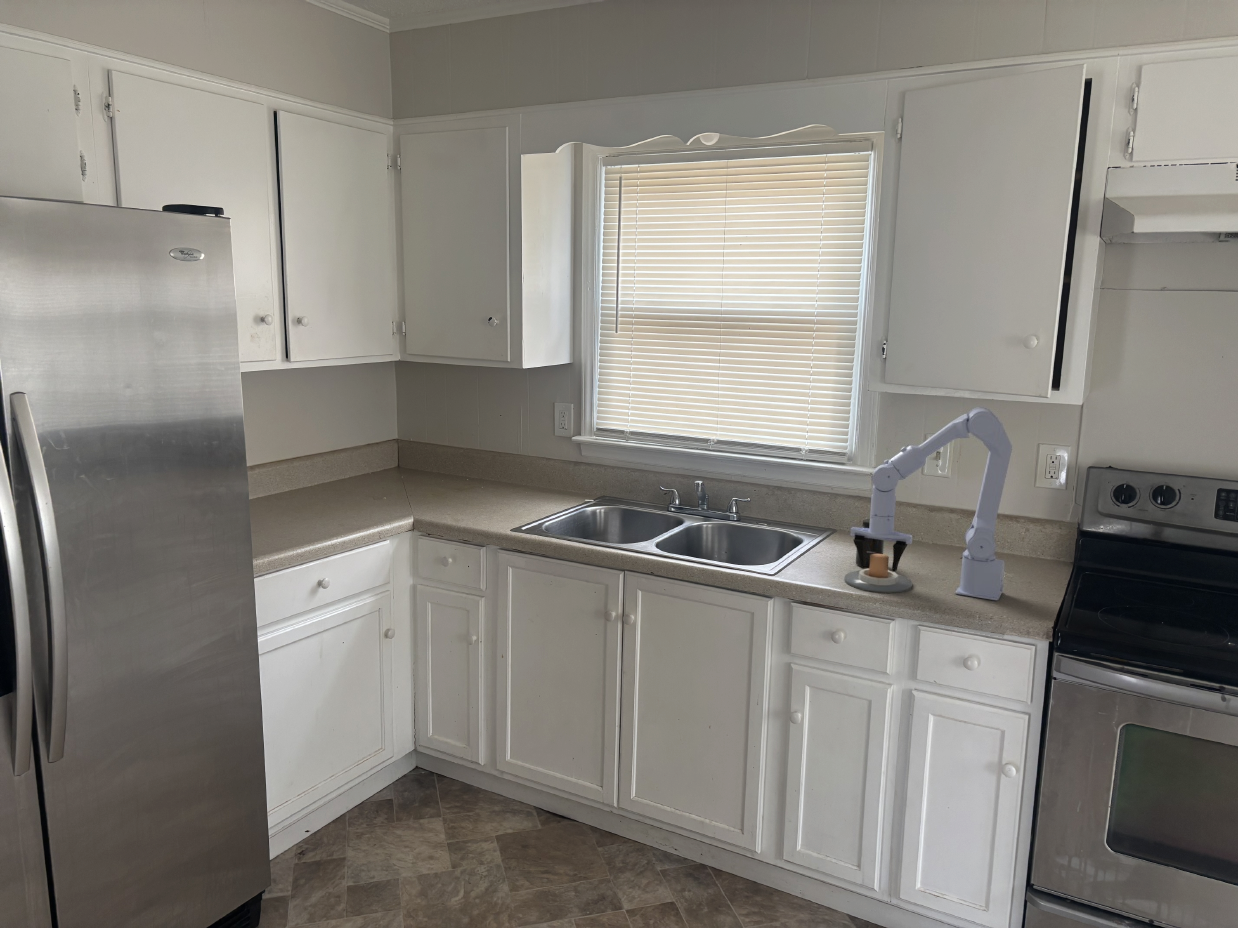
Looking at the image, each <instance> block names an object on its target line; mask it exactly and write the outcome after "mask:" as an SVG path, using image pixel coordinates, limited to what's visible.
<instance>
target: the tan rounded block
mask: <svg viewBox="0 0 1238 928" xmlns="http://www.w3.org/2000/svg"><path fill="white" fill-rule="evenodd" d="M889 559H890V557H889V555H888V554H887V555H886V554H884V553H883V554H871V555H870V565H869V576H870V577H876V578H887V576H888V570H889Z"/></svg>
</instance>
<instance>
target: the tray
mask: <svg viewBox="0 0 1238 928" xmlns="http://www.w3.org/2000/svg"><path fill="white" fill-rule="evenodd" d="M843 580H844V582H845V583H846V585H848V586H850V587H852V588H855V589H857V590H862V591H865V592H871V593H879V594H880V593H882V594H896V593H897V594H898V593H903V592H907V591H909V590H911V589H912V587H913V581H912V580H911V579H910V578H908V577H907V576H904V575H901V574H898V573H896V571H895V572H893V571H892V570H889V569H888V576H887V578H876V577H870V576H869V568H864V569H863V568H862V569H860V570H854V571H850V572H847V573H845V575H844V579H843Z"/></svg>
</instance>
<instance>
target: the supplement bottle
mask: <svg viewBox="0 0 1238 928" xmlns="http://www.w3.org/2000/svg"><path fill="white" fill-rule="evenodd" d="M869 526H870V518H868V519H866V518H865V519H863V520H862V526H861V528H869ZM884 548H885V540H879V539H873V538H868V544H867V551H866V565H865V566H864V567H861V563H860V557H859V554H858V551H857V549H856V553H855V564H856V565H857V566H858V567H861V568H862V569H863V568H864V569H868V568H869V565H870V555H871V554H884V550H885V549H884Z"/></svg>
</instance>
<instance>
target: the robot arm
mask: <svg viewBox="0 0 1238 928" xmlns="http://www.w3.org/2000/svg"><path fill="white" fill-rule="evenodd" d="M969 434H971V435H972V436H973V437H975V438H976V439H978V440H979V441H981V442H982V443H983V444H984V446H985V447H986V449H987V450H988V455H987V459H986V465H985V469H984V472H983V473H984V474H983V477H982V483H981V486H980V487H981V488H980V492H979V496H978V501H977V505H976V510H975V515H974V516H973V519H972V523H971V525H970V527H969V528H968V529H967V530H966V532H965V535H964V541H965V543H966V550H965V551H963V552H962V559H961V561H962V562H961V569H960V570H961V571H960V582H959V586H958V587H957V589H956V590H955V594H957V595H961V596H966V597H974V598H981V599H984V600H985V599H986V600H991V601H999V599H1000V598H1001V596H1002V594H1003V591H1004V577H1005V568H1006V567H1005V566H1006V564H1005V563H1006V562H1005V561H1004V560H1003V559H998V558H996V554H995V552H996V549H997V544H996V539H995V534H996V525H997V517H998V514H999V510H1000V504H1001V499H1002V495H1003V491H1004V487H1005V483H1006V482H1005V481H1006V477H1007V475H1008V474H1007V473H1008V469H1009V464H1010V461H1011V456H1012V451H1013V444H1012V443H1011V441H1010V440H1011V439H1010V438H1009V436H1008V435H1007V432H1006V430H1005V428H1004V426H1003V423H1002V422H1001V420H1000V419H999V418H998V417H997V416H996V415H995V413H993V412H992V411H991V410H990V409H988V408H987V407H984V406H983V407H982V406H978V407H975V408H973V409H971V410H970V411H969V412H968V413H964V414H962V415H960V416H959V417H957V418H955V419H954V420H952V421H950V422H949V423H948V424H946V425H945V426H943V428H941V429H940V430H939V431H937V432H936V433H934V434H933V435H931V436H930V437H929V438H928V439H926V440H925V441H924V442H922V443H921V444H919V445H911V444H910V445H909V446H907V447H906V446H903V447H902V448H901V447H900V452H899V453H897V454H896V455H894V456H893V457H892V458H890V459H888V458H887V459H885V460H884V461H883V463H884V464H881V465H879V466H877V467H875V469H874V471H873V472H872V473H873V474H872V484H873V487H872V488H871V489H872V490H871V492H872V494H871V498H870V499H871V500H870V513H869V514H870V515H869V519H870V526H869V528H863V527H856V526H852V527H851V528H850V537H854V538H853V544H854V546H855V548H856V550H857V551H858V554H859V557H860V563H861V568H863V567H864V566H865V565H866V551H867V544H868V538H873V539H879V540H884V541H888V542H895V543H893V545H892V550H893V551H892V552H893V553H892V554H893V557H892V566H891V571H892V572H895V573H896V572H897V570H898V568H899V567H898V566H899V564H900V560H901V558H902V555H903V554H904V551H905V550H906V549H907V546H908V545H911V544H912V543H913V535H912V534H907V533H902V532H898V531H894V530H895V514H896V501H897V496H896V487H897V486H898V483H899V481H903V480H905V479H906V478H908V477H909V476H911V475H913V474H914V473H915V472H917V471H918V470H920V469H921V468H923V467H924V466H926V464H927V463H926V462H927V458H928V457H929V456H930V455H932V454H934V453H936V452H937V451H938V450H940V449H942V448H944V446H946V445H948V444H949V443H951V442H952V441H954V440H957V439H969V438H970V436H969Z"/></svg>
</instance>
